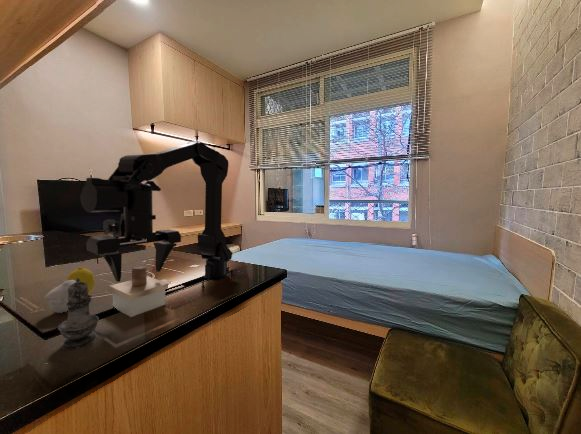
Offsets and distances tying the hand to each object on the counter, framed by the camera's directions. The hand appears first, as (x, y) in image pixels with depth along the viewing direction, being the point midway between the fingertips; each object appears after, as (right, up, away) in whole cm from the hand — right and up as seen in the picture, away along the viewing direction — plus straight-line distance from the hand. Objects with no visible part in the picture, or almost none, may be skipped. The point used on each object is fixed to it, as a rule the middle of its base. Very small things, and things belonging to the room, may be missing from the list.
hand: (139, 276), depth 61 cm
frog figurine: (-15, -8, -2) cm, 17 cm away
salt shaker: (-3, -9, -13) cm, 16 cm away
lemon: (-18, -7, +5) cm, 20 cm away
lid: (0, -3, 0) cm, 3 cm away
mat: (-2, -7, +13) cm, 15 cm away
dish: (0, -8, +1) cm, 8 cm away
